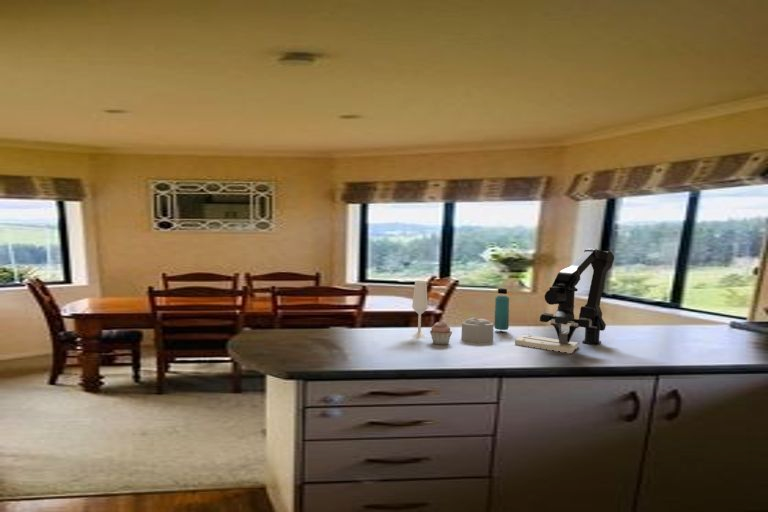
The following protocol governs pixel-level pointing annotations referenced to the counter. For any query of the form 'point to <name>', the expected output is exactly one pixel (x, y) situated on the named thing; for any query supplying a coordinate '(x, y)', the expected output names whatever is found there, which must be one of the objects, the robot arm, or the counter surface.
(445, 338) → the cupcake
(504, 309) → the beverage bottle
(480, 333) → the lumpy-topped squat cylinder
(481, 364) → the counter surface
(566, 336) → the block
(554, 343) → the panel
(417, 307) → the champagne flute
